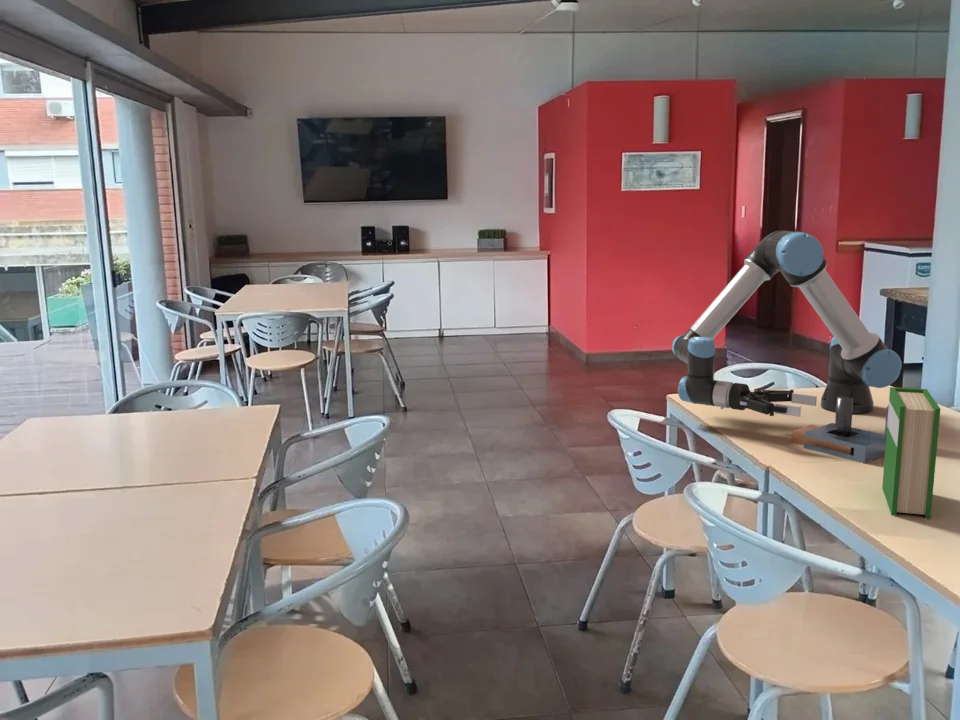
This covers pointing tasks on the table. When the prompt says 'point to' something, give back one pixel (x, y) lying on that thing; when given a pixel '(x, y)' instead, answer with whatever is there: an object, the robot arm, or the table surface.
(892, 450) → the hardback book
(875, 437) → the orange grey flat block
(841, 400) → the pin
